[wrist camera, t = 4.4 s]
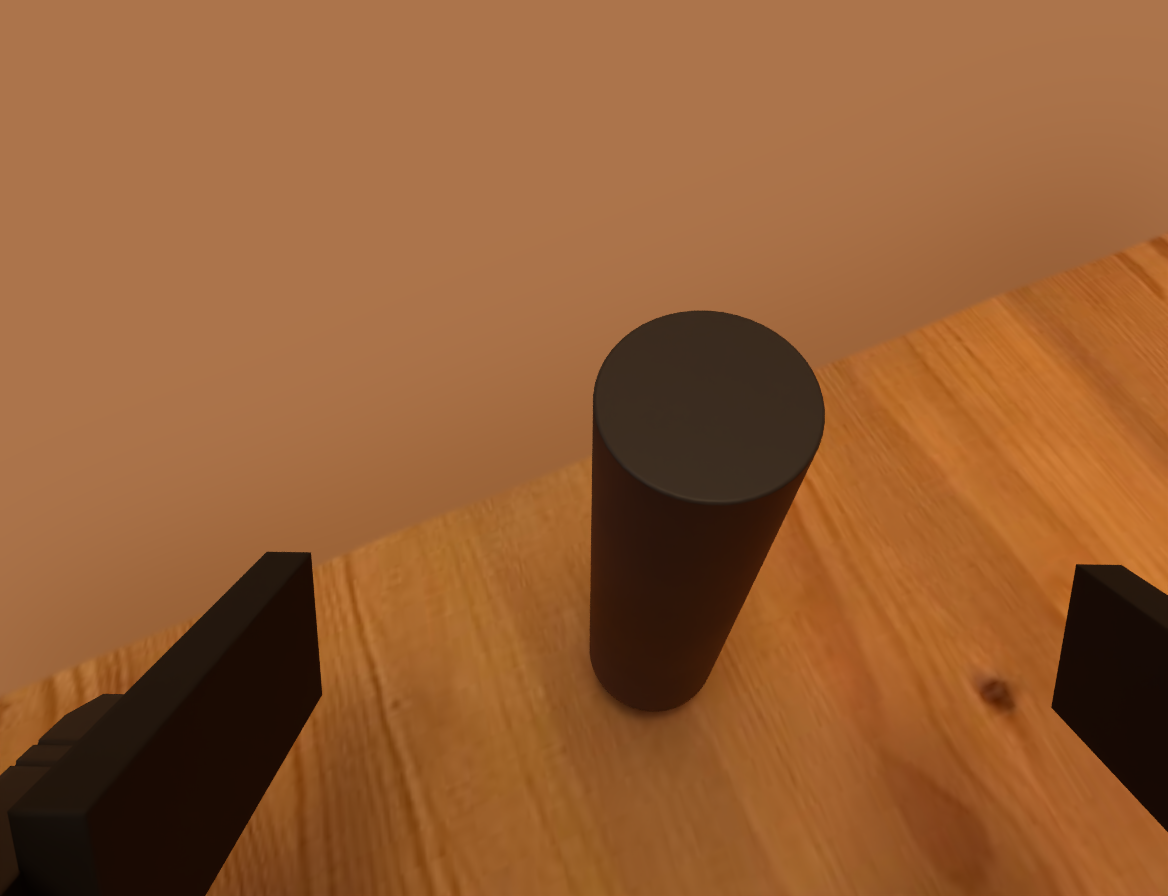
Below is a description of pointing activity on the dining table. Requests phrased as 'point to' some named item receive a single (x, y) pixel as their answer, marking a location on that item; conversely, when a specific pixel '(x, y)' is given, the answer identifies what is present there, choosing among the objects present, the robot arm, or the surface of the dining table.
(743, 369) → the dark brown cylinder
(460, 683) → the dining table surface
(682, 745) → the dining table surface
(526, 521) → the dining table surface
